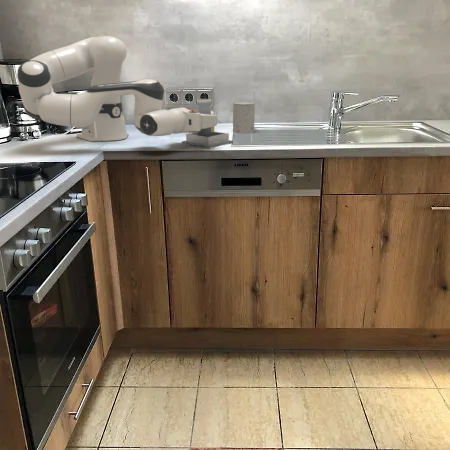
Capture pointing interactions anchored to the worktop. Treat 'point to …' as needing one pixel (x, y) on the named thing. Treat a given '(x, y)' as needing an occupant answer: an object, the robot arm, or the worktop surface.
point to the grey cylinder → (243, 117)
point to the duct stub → (204, 108)
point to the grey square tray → (207, 139)
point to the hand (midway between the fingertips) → (207, 116)
